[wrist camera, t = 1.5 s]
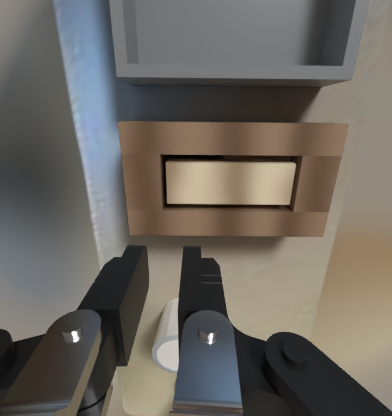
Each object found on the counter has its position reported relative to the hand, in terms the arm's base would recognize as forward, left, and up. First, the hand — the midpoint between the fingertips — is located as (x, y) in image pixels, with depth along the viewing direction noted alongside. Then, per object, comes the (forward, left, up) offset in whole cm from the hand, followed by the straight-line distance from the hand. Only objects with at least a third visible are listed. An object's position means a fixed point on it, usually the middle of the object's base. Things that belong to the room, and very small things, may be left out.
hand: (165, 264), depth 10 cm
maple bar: (+3, +3, -16) cm, 16 cm away
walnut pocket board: (+3, +3, -19) cm, 20 cm away
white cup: (+14, -16, -19) cm, 29 cm away
